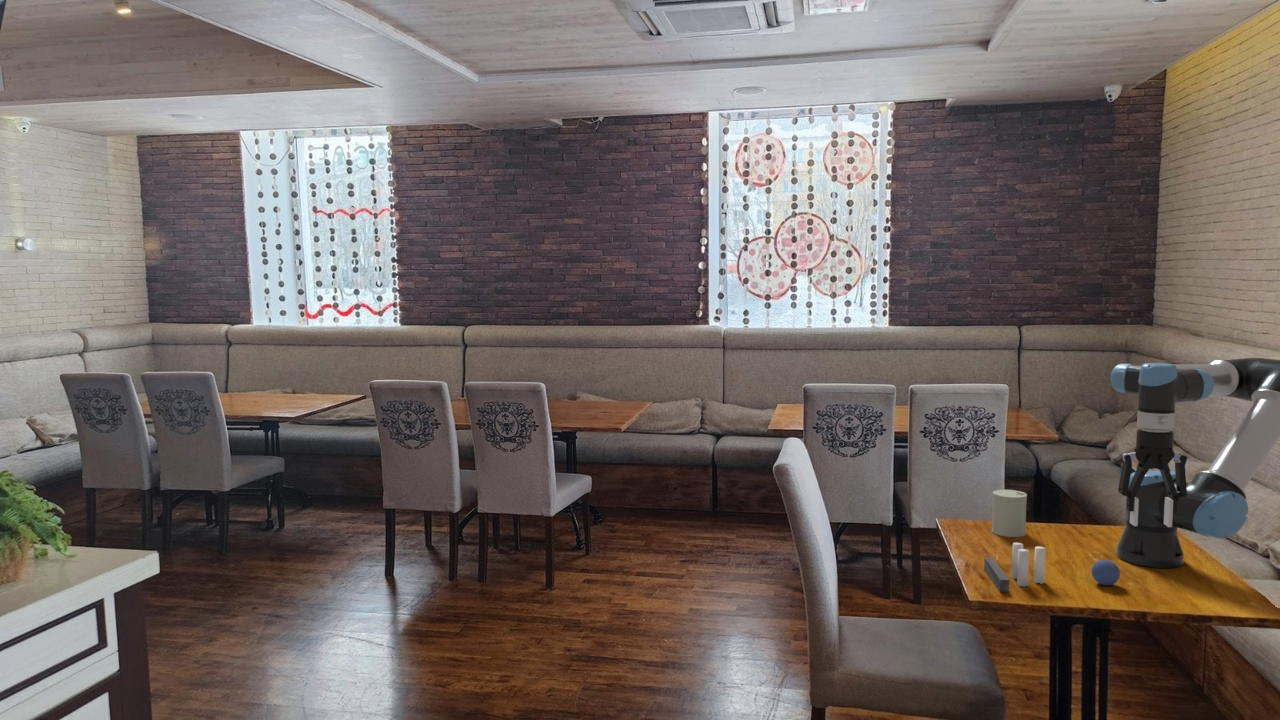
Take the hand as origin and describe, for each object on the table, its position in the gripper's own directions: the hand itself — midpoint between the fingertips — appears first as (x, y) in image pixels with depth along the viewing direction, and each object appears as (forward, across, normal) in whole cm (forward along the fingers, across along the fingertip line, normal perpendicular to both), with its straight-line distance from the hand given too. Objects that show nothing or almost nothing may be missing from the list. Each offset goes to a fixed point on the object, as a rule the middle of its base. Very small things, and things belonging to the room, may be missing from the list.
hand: (1150, 524), depth 209 cm
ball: (+12, -10, 0) cm, 15 cm away
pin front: (+15, -24, 0) cm, 29 cm away
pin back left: (+15, -29, -2) cm, 33 cm away
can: (+15, -22, +41) cm, 49 cm away
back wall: (+15, -34, 0) cm, 38 cm away
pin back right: (+15, -29, +2) cm, 33 cm away
